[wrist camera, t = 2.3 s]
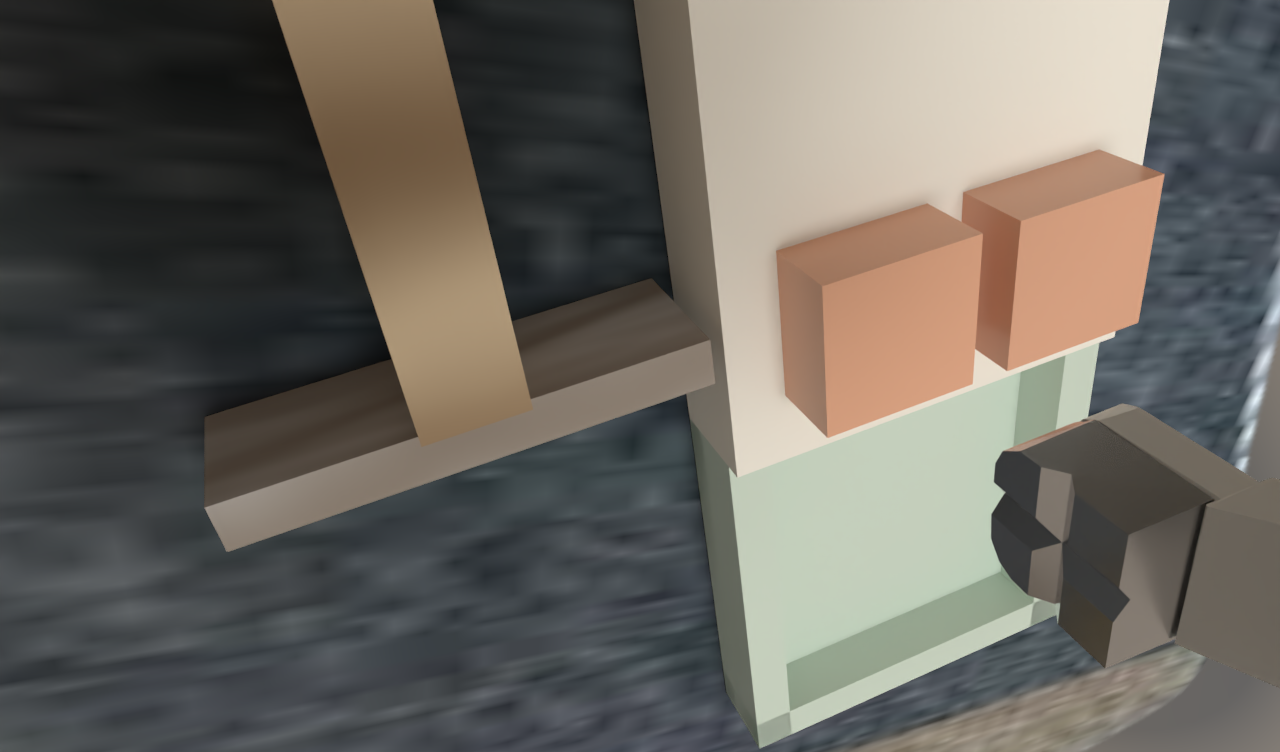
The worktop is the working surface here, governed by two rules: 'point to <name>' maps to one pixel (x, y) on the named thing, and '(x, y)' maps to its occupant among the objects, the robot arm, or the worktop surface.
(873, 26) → the board
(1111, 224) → the tile
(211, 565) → the worktop surface
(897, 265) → the tile
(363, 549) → the worktop surface
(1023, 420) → the tray
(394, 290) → the scraper
